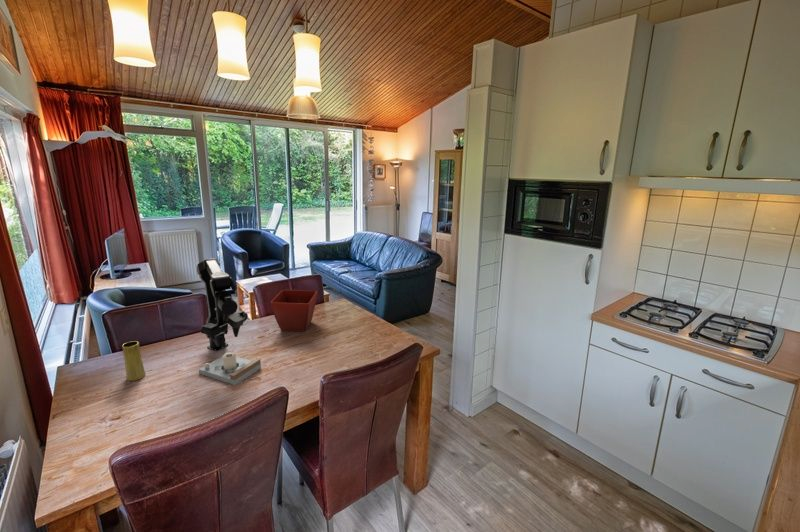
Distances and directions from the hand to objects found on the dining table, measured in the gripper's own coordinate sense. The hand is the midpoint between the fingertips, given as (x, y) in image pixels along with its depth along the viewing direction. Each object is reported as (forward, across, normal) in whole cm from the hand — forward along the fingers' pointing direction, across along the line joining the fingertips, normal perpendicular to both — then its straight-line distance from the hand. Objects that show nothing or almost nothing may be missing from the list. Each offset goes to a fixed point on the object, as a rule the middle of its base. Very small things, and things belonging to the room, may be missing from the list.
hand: (227, 341), depth 154 cm
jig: (+12, -2, -3) cm, 12 cm away
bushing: (+12, -2, -3) cm, 12 cm away
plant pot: (+12, +45, +1) cm, 46 cm away
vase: (+12, -22, +26) cm, 36 cm away
